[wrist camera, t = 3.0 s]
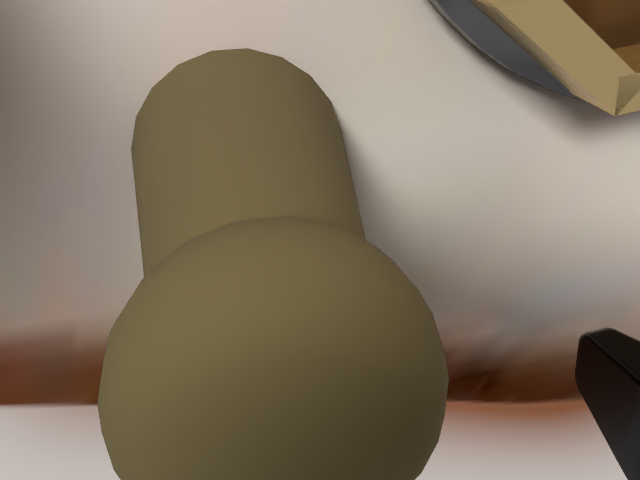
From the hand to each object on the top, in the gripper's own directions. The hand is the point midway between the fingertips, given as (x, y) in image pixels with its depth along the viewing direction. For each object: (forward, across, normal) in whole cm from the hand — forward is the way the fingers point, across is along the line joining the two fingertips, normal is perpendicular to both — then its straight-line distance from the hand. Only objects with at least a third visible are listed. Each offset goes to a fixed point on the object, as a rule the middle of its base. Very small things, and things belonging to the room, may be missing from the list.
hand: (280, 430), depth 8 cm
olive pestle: (+10, 0, 0) cm, 10 cm away
